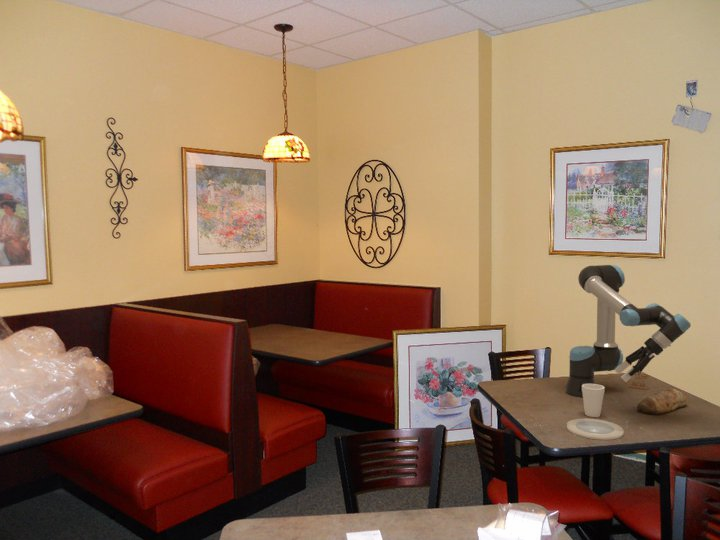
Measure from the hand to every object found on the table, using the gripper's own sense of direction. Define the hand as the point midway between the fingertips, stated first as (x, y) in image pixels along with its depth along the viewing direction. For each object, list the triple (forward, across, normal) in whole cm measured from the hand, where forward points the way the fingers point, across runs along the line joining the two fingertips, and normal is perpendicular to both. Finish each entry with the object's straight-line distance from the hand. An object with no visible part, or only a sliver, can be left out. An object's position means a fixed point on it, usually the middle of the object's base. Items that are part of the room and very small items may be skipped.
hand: (619, 375), depth 256 cm
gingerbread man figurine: (-1, +50, -27) cm, 57 cm away
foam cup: (+21, +1, -5) cm, 22 cm away
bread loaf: (-2, +17, -29) cm, 34 cm away
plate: (+23, -20, -4) cm, 30 cm away
